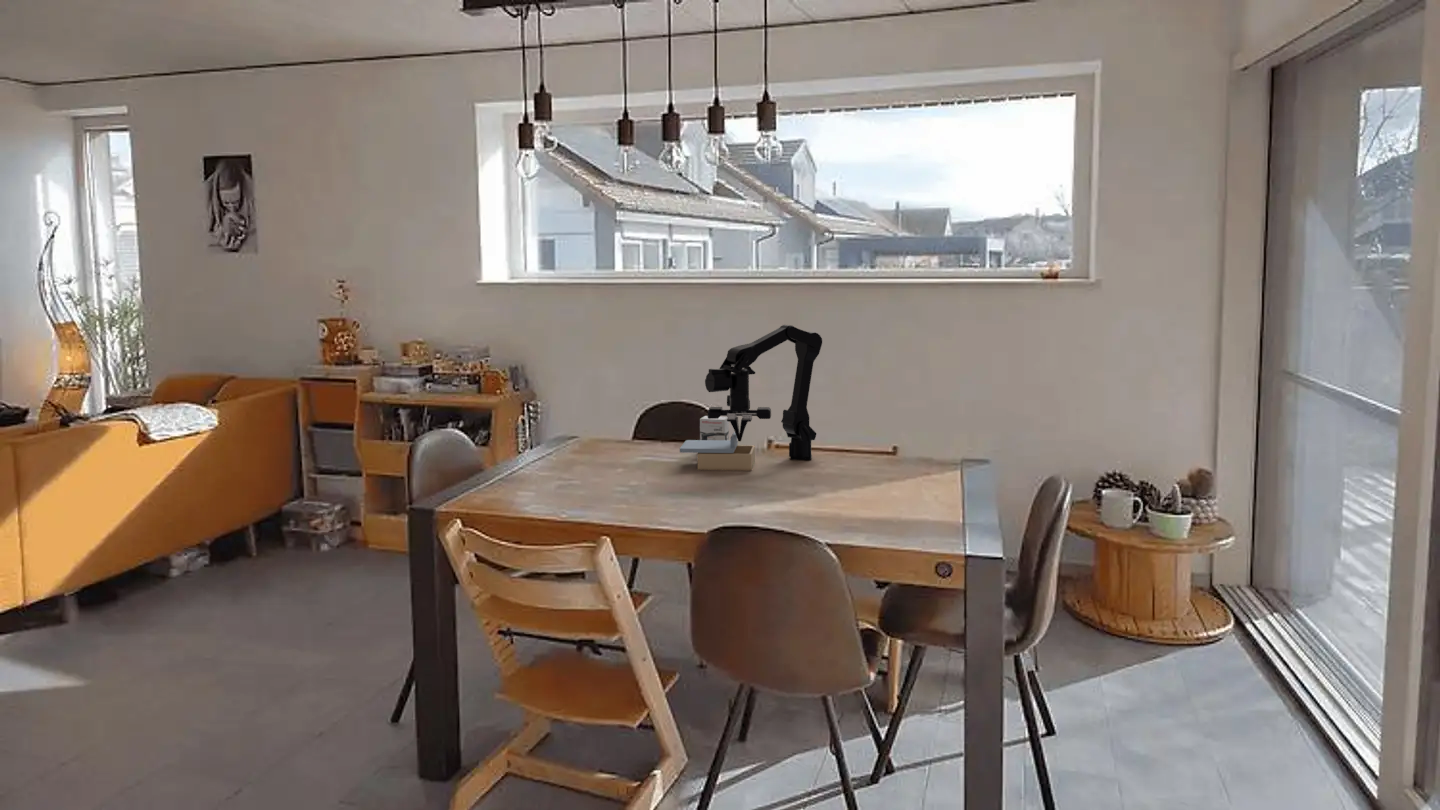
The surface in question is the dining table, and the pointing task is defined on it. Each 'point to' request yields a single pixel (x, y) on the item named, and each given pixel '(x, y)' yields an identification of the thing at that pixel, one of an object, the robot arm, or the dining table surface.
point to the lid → (710, 446)
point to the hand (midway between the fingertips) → (739, 441)
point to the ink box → (714, 428)
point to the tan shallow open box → (728, 460)
